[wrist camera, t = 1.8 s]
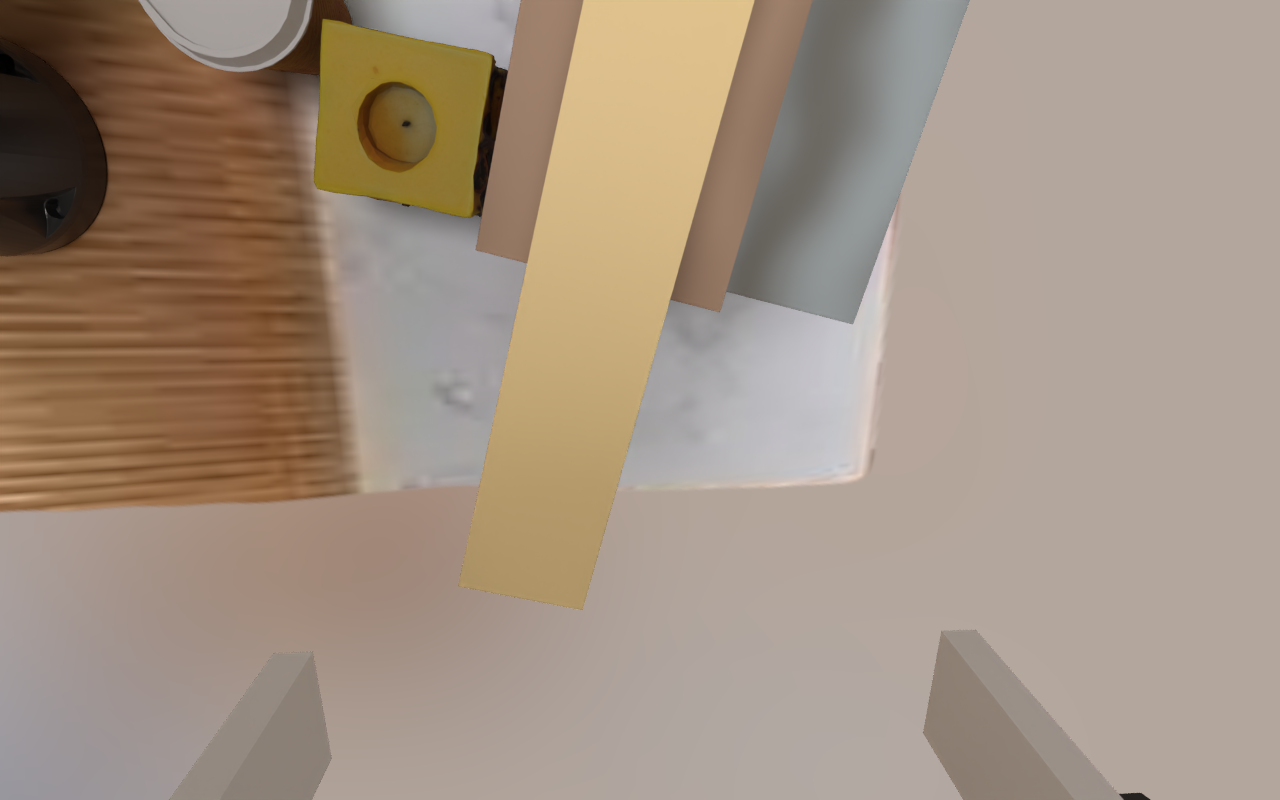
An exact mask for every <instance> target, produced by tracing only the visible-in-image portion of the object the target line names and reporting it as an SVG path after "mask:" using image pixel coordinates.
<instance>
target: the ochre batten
mask: <svg viewBox="0 0 1280 800" xmlns="http://www.w3.org/2000/svg"><path fill="white" fill-rule="evenodd" d="M754 1H755V0H584V1H583V5H582V10H581V15H580V19H579V24H578V29H577V33H576V38H575V43H574V47H573V52H572V57H571V61H570V66H569V71H568V75H567V80H566V85H565V89H564V94H563V99H562V103H561V108H560V113H559V117H558V122H557V127H556V131H555V136H554V141H553V145H552V150H551V155H550V159H549V164H548V169H547V173H546V178H545V183H544V187H543V192H542V197H541V201H540V206H539V211H538V215H537V220H536V225H535V229H534V234H533V239H532V243H531V248H530V253H529V257H528V262H527V267H526V271H525V276H524V281H523V285H522V290H521V294H520V299H519V304H518V308H517V313H516V318H515V322H514V327H513V332H512V336H511V341H510V346H509V350H508V355H507V360H506V364H505V369H504V374H503V378H502V383H501V388H500V392H499V397H498V402H497V406H496V411H495V416H494V420H493V425H492V430H491V434H490V439H489V444H488V448H487V453H486V458H485V462H484V467H483V472H482V476H481V481H480V486H479V491H478V495H477V500H476V505H475V509H474V514H473V518H472V523H471V528H470V532H469V537H468V542H467V547H466V551H465V556H464V561H463V565H462V570H461V574H460V579H459V584H458V586H459V587H464V588H470V589H475V590H481V591H485V592H491V593H496V594H501V595H506V596H511V597H517V598H522V599H527V600H532V601H538V602H543V603H549V604H553V605H559V606H563V607H569V608H574V609H579V610H583V606H584V603H585V599H586V596H587V592H588V589H589V585H590V582H591V578H592V574H593V571H594V567H595V564H596V560H597V557H598V553H599V550H600V546H601V542H602V539H603V536H604V532H605V528H606V525H607V521H608V518H609V514H610V511H611V507H612V504H613V500H614V496H615V493H616V490H617V486H618V483H619V479H620V475H621V472H622V468H623V465H624V461H625V458H626V454H627V451H628V447H629V444H630V440H631V436H632V433H633V429H634V426H635V422H636V419H637V415H638V412H639V408H640V405H641V401H642V398H643V394H644V390H645V387H646V383H647V380H648V376H649V373H650V369H651V366H652V362H653V359H654V355H655V351H656V348H657V344H658V341H659V337H660V334H661V330H662V327H663V323H664V320H665V316H666V313H667V309H668V305H669V302H670V298H671V295H672V291H673V288H674V284H675V281H676V277H677V274H678V270H679V266H680V263H681V259H682V256H683V252H684V249H685V245H686V242H687V238H688V235H689V231H690V228H691V224H692V220H693V217H694V213H695V210H696V206H697V203H698V199H699V196H700V192H701V189H702V185H703V181H704V178H705V174H706V171H707V167H708V164H709V160H710V157H711V153H712V150H713V146H714V143H715V139H716V135H717V132H718V128H719V125H720V121H721V118H722V114H723V111H724V107H725V104H726V100H727V96H728V93H729V89H730V86H731V82H732V79H733V75H734V72H735V68H736V65H737V61H738V58H739V54H740V50H741V47H742V43H743V40H744V36H745V33H746V29H747V26H748V22H749V19H750V15H751V11H752V8H753V4H754Z"/></svg>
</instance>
